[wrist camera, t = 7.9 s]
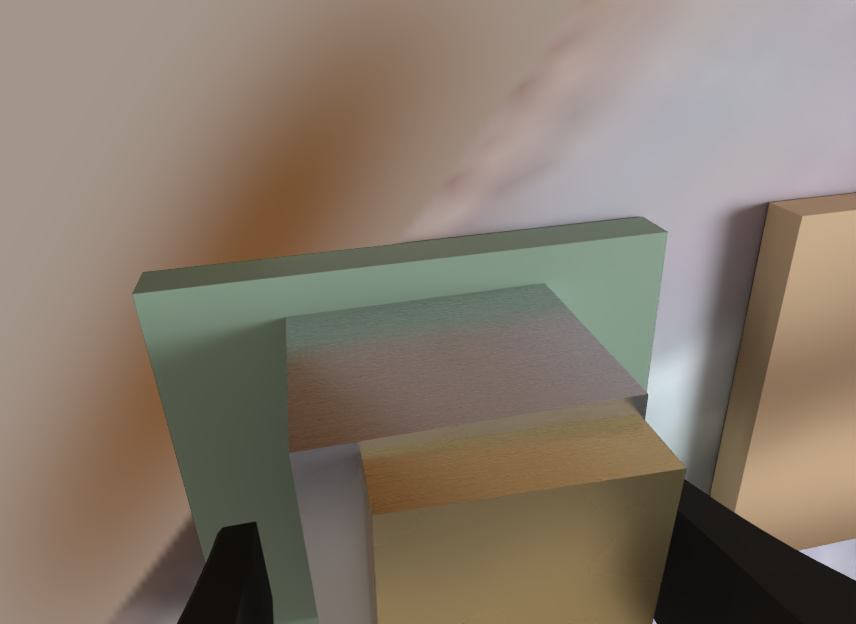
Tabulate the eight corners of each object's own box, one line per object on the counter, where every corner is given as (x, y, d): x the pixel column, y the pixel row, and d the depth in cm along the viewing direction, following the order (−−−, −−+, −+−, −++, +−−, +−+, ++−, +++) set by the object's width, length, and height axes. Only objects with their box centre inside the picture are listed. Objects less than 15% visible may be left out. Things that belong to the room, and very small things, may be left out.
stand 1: (603, 559, 18) (620, 588, 17) (236, 634, 16) (234, 670, 15) (642, 216, 14) (667, 231, 13) (142, 272, 12) (132, 294, 11)
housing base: (545, 282, 13) (647, 394, 9) (533, 573, 16) (603, 734, 13) (285, 316, 12) (289, 453, 8) (334, 615, 15) (350, 798, 12)
